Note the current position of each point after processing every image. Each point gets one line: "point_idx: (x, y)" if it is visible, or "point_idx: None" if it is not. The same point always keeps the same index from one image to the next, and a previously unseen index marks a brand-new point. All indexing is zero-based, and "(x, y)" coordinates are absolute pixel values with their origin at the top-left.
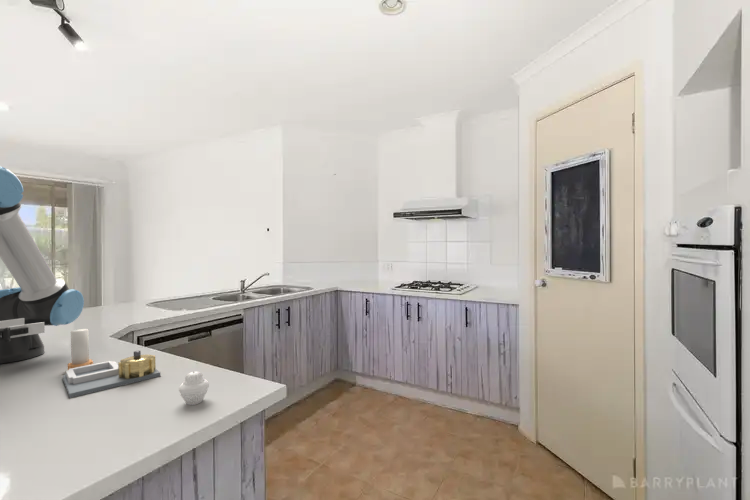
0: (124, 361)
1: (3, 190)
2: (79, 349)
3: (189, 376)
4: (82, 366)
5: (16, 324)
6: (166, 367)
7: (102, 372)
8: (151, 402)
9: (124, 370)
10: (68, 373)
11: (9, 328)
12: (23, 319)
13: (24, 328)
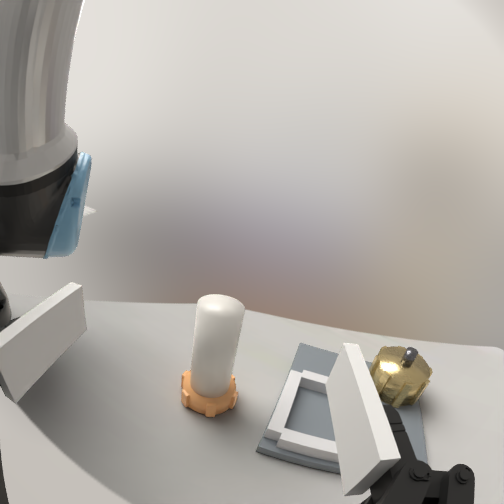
0: (408, 377)
1: None
2: (231, 362)
3: None
4: (278, 408)
5: (67, 324)
6: (369, 355)
7: None
8: (499, 414)
9: (414, 393)
10: (317, 447)
11: (425, 463)
12: (79, 291)
13: (401, 419)
